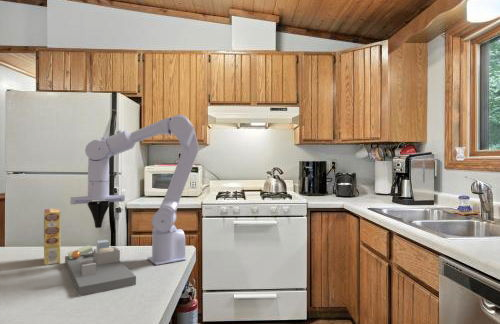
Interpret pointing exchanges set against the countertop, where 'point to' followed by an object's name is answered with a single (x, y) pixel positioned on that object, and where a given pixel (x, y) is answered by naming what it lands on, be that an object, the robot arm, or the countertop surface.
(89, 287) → the panel
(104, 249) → the button
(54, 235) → the candy box
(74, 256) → the lever
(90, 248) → the block
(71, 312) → the countertop surface
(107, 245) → the block
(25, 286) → the countertop surface
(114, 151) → the robot arm
